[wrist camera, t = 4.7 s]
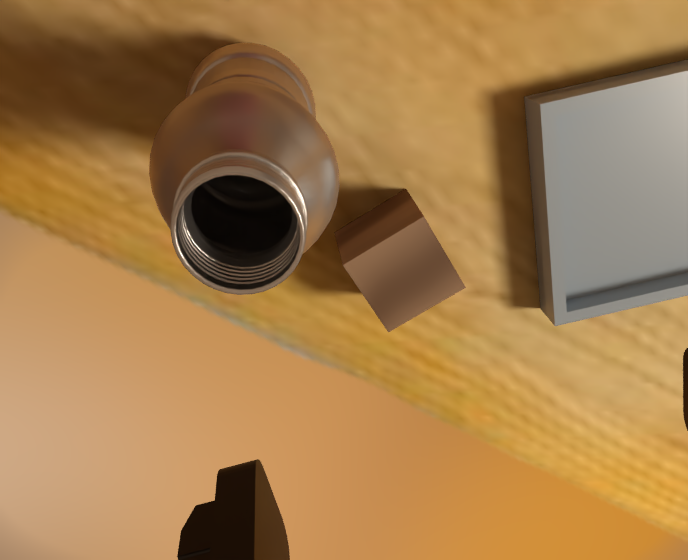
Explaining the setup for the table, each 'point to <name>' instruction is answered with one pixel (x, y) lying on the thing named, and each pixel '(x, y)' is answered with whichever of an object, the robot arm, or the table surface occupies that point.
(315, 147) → the plastic bottle
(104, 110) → the table surface
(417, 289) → the walnut block
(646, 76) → the tray
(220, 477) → the robot arm
